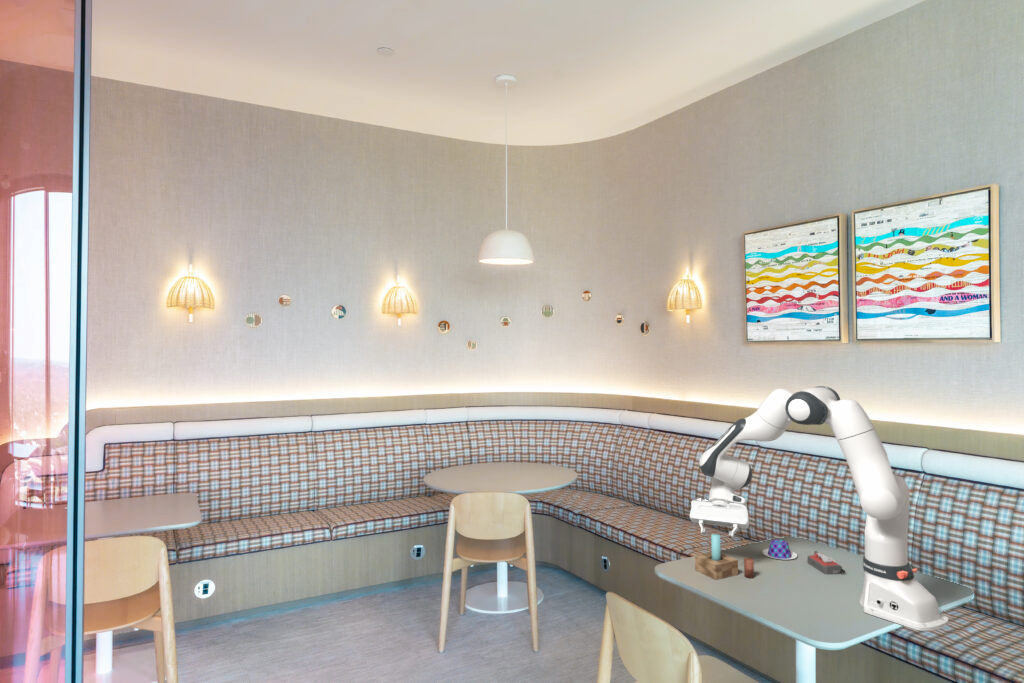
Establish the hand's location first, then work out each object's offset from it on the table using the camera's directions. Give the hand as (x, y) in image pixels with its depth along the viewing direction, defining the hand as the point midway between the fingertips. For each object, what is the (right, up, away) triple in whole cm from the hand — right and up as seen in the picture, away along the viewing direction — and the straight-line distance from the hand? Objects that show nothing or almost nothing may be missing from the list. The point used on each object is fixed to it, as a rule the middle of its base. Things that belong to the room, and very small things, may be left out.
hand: (716, 535), depth 214 cm
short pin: (+9, -12, -6) cm, 16 cm away
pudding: (+28, -12, +14) cm, 34 cm away
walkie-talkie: (+39, -12, +4) cm, 41 cm away
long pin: (-1, -12, -2) cm, 13 cm away
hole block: (-1, -12, -2) cm, 13 cm away
